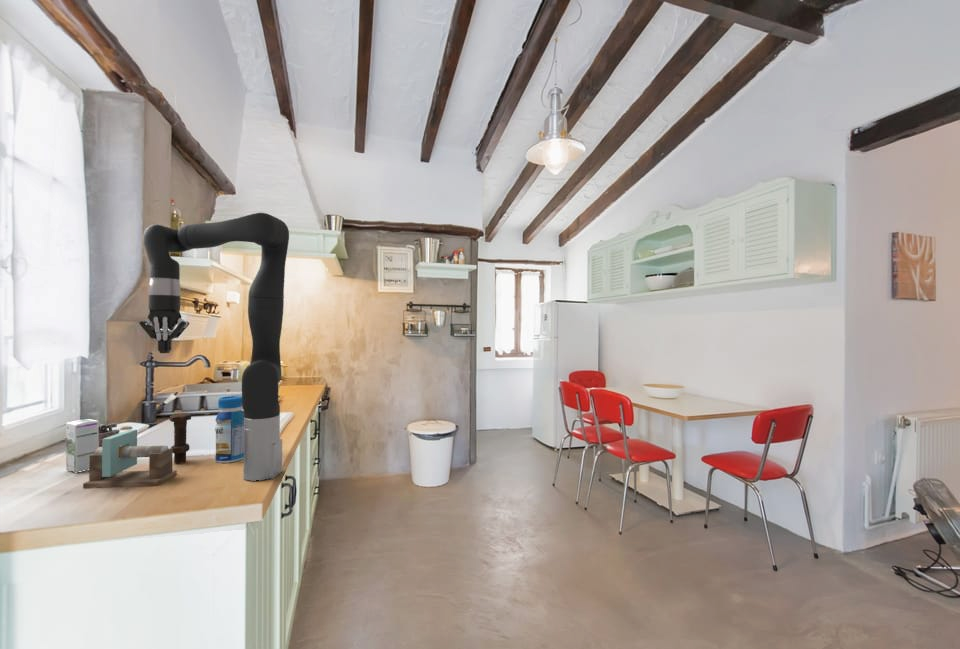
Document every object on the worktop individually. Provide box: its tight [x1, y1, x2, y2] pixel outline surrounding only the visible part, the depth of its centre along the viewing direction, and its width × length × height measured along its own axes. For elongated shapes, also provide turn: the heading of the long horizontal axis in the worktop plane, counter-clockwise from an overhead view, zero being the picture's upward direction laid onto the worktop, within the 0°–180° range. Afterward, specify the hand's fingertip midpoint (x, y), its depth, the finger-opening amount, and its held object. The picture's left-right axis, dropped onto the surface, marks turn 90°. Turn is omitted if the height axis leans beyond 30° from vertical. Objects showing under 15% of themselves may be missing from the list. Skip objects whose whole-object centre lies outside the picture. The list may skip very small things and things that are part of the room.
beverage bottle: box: [214, 395, 244, 464], centre depth 136 cm, size 8×8×20 cm
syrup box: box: [65, 418, 99, 473], centre depth 126 cm, size 6×6×14 cm
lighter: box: [98, 422, 121, 447], centre depth 140 cm, size 8×3×10 cm, turn 148°
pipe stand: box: [82, 445, 178, 489], centre depth 117 cm, size 18×9×10 cm, turn 96°
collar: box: [102, 429, 138, 477], centre depth 117 cm, size 2×10×10 cm, turn 6°
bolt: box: [169, 412, 192, 465], centre depth 132 cm, size 6×5×15 cm
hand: (164, 353), depth 124 cm, fingers closed
